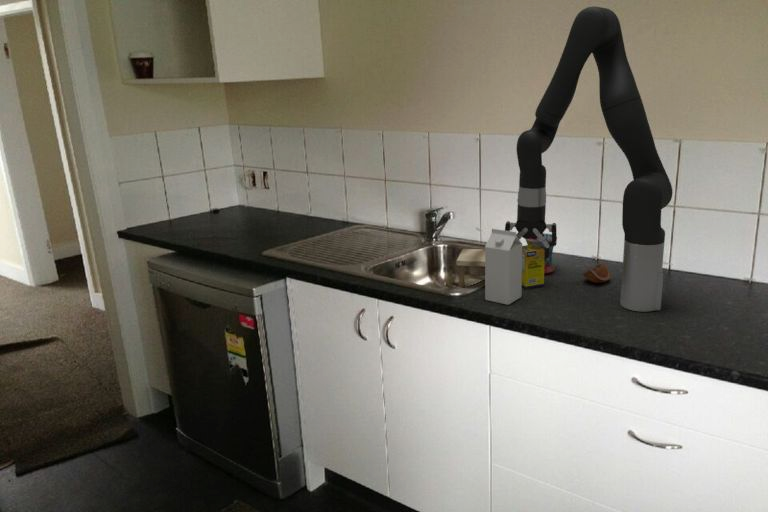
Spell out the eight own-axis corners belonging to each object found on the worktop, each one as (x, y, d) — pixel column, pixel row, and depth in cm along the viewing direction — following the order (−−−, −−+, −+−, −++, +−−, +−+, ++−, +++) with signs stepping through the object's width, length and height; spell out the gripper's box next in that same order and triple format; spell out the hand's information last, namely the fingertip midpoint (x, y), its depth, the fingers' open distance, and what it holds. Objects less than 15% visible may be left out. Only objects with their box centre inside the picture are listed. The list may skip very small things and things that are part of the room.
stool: (503, 275, 191) (503, 249, 188) (499, 289, 180) (499, 262, 177) (463, 274, 194) (462, 248, 192) (456, 287, 183) (456, 260, 181)
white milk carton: (498, 292, 178) (498, 225, 172) (521, 297, 173) (522, 229, 168) (484, 300, 172) (484, 231, 167) (508, 305, 168) (509, 235, 162)
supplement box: (544, 286, 180) (545, 249, 177) (525, 289, 179) (525, 252, 175) (533, 280, 186) (534, 243, 183) (515, 283, 184) (515, 246, 181)
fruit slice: (598, 288, 177) (599, 271, 175) (577, 283, 182) (577, 266, 180) (614, 281, 182) (615, 264, 181) (593, 276, 187) (593, 259, 186)
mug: (545, 278, 187) (546, 243, 184) (518, 272, 194) (518, 238, 190) (566, 268, 195) (568, 234, 192) (540, 262, 201) (541, 229, 198)
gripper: (558, 200, 177) (555, 256, 182) (506, 198, 181) (504, 253, 186) (558, 206, 170) (555, 264, 175) (503, 205, 174) (502, 261, 179)
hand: (529, 258), depth 181 cm, fingers open, 8 cm apart
